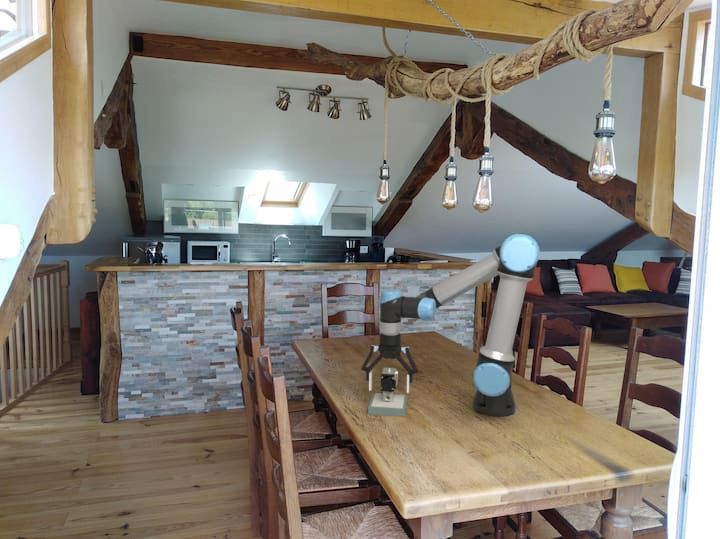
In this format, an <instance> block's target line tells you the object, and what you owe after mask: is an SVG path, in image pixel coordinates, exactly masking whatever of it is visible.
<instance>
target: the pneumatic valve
mask: <svg viewBox="0 0 720 539" xmlns="http://www.w3.org/2000/svg"><path fill="white" fill-rule="evenodd" d="M398 383H399V371H398V368H397V367H390V366H383V369H382V371H381V374H380V392H383V394H384V399H383V401H390V402H392V401H393V398H394V397H393V394H394V392H395V390H397V387H398V386H397V385H398Z"/></svg>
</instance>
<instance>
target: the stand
mask: <svg viewBox="0 0 720 539" xmlns="http://www.w3.org/2000/svg"><path fill="white" fill-rule="evenodd" d="M393 397H394V398H393V401H392V402H390V401H383V399H384V394H383V393H381V392H380V393H379V392H373V393H372V395H371V398H370V401H369V404H368V407H367V414H368V415H376V416H390V417H404V418H405V417H406V413H407V406H408V397H409V396H408V394H399V393H398V394H396V393H393Z"/></svg>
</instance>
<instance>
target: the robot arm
mask: <svg viewBox="0 0 720 539" xmlns="http://www.w3.org/2000/svg"><path fill="white" fill-rule="evenodd" d="M502 242H503V243H502V244H501V245H499V246H498V247H495V248H494V249H493V252H492V253H490V254H489V255H487V256H485V257H483V258H482V259H480V260H478V261H477V262H475V263H473V264H472V265H470V266H468V267H466V268H464V269H462V270H461V271H459V272H457V273H456V274H454V275H452V276H449V277H448V278H446V279H444V280H443V281H441V282H439V283H438V284H436V285H434V286H433V287H431V288H429V289H427V290H424V291H423V292H421V293H419V295H417V296H415V297H414V296H404V295H402V294H403V293H402V291H401V290H399V289H391V288H390V289H384V290H382V291H381V292H380V300H379V301H380V302H379V332H380V333H379V345H375V344H371V346H370V350H369V353H368V355H367V357H366V359H365V361H364V362H363V364H362V367H361V371H364V372H365V376H366V377H365V380H366V381H367V382H368V391H372V389H373V370H372V369H374V368H375V366H376V365H377V364H378V363H380V361H381V360H382V359H383V358H384V359H386V360H389V359H390V360H395V359H396V360H397V361H398V362H399V363H400V364H401V366H402V367H403V369H404V370H405V371H406V372H407V373H406V374H407V375H406V394H409V393H410V384H413V377H414V374H418V372H419V370H418V367H417V365H416V363H415V361H414V359H413V356H412V354H411V353H410V346H408V345H407V346H404V347H403V346H401V343H402V342H401V338H402V337H401V336H402V335H401V332H402V331H401V330H402V319H405V318H406V319H415V320H423V321H426V320H427V321H428V320H429V321H431V320H433V319H435V316H436V310H437V309H438V308H440V307H441V306H443V305H445V304H447V303H449V302H452V301H453V300H454V299H457V298H458V297H460V296H462V295H464V294H466V293H467V292H469V291H472V290H473V289H475V288H477V287H479V286H480V285H483V284H484V283H486V282H489V281H490V280H492V279H493V278H495V277H497V276H499V282H498V287H497V291H496V296H495V300H494V305H493V309H492V310H493V311H492V314H491V318H490V324H489V327H488V328H489V329H488V331H487V332H488V334H487V337H486V341H485V345H482V346H480V348H479V352H478V354H477V361H476V365H475V369H474V370H473V373H472V380H473V381H472V382H473V385H474V386H475V388H476V392H475V394H474V396H473V399H472V409H473V410H474V411H476V412H478V413H481V414H483V415H487V416H493V417H508V416H512V415H514V414H515V413H516V406H517V405H516V402H515V398H514V394H513V391H512V383H513V382H512V381H513V369H514V368H513V367H514V363H515V359H516V358H515V356H514V351H513V347H514V343H515V337H516V334H517V328H518V324H519V322H520V315H521V311H522V308H523V302H524V298H525V294H526V289H527V286H528V285H527V284H528V283H529V282H531V281H533V279H534V277H535V273H536V270H537V269H536V268H537V263H538V261H539V258H540V253H541V252H540V245H539V243H538V241H537V240H536V238H534V236H532V235H530V234H527V233H523V232H522V233H515V234H512V235H510V236H509V237H507V238H506V239H505V240H504V241H502ZM377 351H378V352H379V354H378V356H377V357H375V359H374V360H373V361H372V362H371V364H369V362H370V360H371V358H372V357H373V354H374V353H376V352H377ZM401 352H403V353H404V354H405V355H406V358H407V361H408V362H409V364H410V366H409V364H408V363H407V362H406V360H405V359H404V358H403V357H402V355H401V354H400V353H401ZM368 364H369V366H368ZM367 366H368V367H367Z"/></svg>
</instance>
